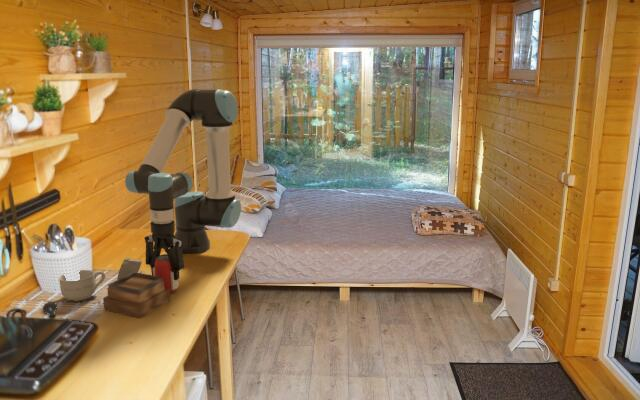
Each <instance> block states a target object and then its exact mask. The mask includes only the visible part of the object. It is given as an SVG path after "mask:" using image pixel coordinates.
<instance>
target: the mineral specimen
mask: <svg viewBox="0 0 640 400" xmlns="http://www.w3.org/2000/svg"><path fill="white" fill-rule="evenodd" d="M142 263H143V262H142V260H140V259H136V258H129V257H126V258H124V259H123V260H122V263H121V265H120V268H119V270H118V274H117V278H116V280H118V279H120V278H122V277H124V276H126V275H128V274H131V273H133V272H137V273H139V270H140V269H141V268H140V267H141V266H142Z"/></svg>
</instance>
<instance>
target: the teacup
mask: <svg viewBox="0 0 640 400" xmlns="http://www.w3.org/2000/svg"><path fill="white" fill-rule="evenodd" d="M79 270H80V272H79V274H80V280H78V281H66V278H65V276H64V275H63V274H61V275H60V276H59V277H58V281H59V287H60V292H61V295H62V297H63V298H64V299H66V300H68V301H70V300H74V301H73V302H80V301H79V300H82V301H85V300H88V299H90V298H91V297H92V295H93V294H94V293H96V289H98V287H99V286H100V285H102V283H103V282H104V281H105V279H106V274H105V272H104V271H102V270H97V271H93V270H90V269H79ZM99 275H101V277H100V279H99V280H98V281H96V279H97V276H99ZM90 296H91V297H90ZM87 298H88V299H87ZM84 299H85V300H84Z"/></svg>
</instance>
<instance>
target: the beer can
mask: <svg viewBox="0 0 640 400" xmlns="http://www.w3.org/2000/svg"><path fill="white" fill-rule="evenodd" d="M170 271H172V267H171V264H170V261H169V258H168V255H167V253H164V254H160V255H159V256H157V257H156V260H155V276H158V277H163V281H164V287H165V288H166V289H169V294H171V293H173V292H176V290H177V288H176V289H174V290H171V272H170Z"/></svg>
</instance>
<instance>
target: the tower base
mask: <svg viewBox="0 0 640 400" xmlns="http://www.w3.org/2000/svg"><path fill="white" fill-rule="evenodd" d="M170 299H171V298H170V293H169V289H166V288H165V287H164V281H163V277H158V276H153V275H152V274H146V273H142V272H138V273H137V272H133V273H131V274H128V275H126V276H124V277H122V278H120V279H118V280H117V279H116V280H114V281H112V282H110V283H108V284H107V295H106V296H104V297H103V310H104V309H105V310H104V311H107V310H109V311H108V312H111V311H113V313H115V312H116V314H120V315H125V316H129V317H134V318H137V319H142V318H144V317H146V315H149V314H150V313H152V312H153V311H155V310H157V309H158V308H160V307H162V306H163V305H165V304H167V303H168V302H170Z"/></svg>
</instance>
